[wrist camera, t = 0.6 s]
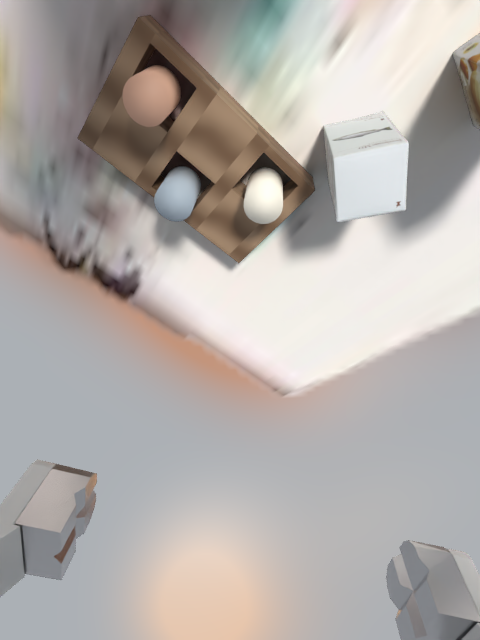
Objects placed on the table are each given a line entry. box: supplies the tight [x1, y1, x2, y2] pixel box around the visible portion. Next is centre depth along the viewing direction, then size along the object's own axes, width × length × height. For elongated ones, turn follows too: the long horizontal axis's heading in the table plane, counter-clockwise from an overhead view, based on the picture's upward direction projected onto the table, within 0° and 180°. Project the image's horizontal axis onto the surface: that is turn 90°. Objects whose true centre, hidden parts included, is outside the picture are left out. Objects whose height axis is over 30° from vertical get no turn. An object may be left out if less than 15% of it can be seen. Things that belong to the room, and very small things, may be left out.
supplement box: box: [323, 111, 409, 222], centre depth 42 cm, size 7×7×13 cm
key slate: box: [154, 166, 201, 221], centre depth 45 cm, size 5×5×6 cm
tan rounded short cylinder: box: [123, 65, 181, 127], centre depth 38 cm, size 5×5×6 cm
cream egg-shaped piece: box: [244, 167, 283, 224], centre depth 45 cm, size 5×5×6 cm
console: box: [78, 15, 315, 263], centre depth 47 cm, size 15×26×4 cm, turn 49°
